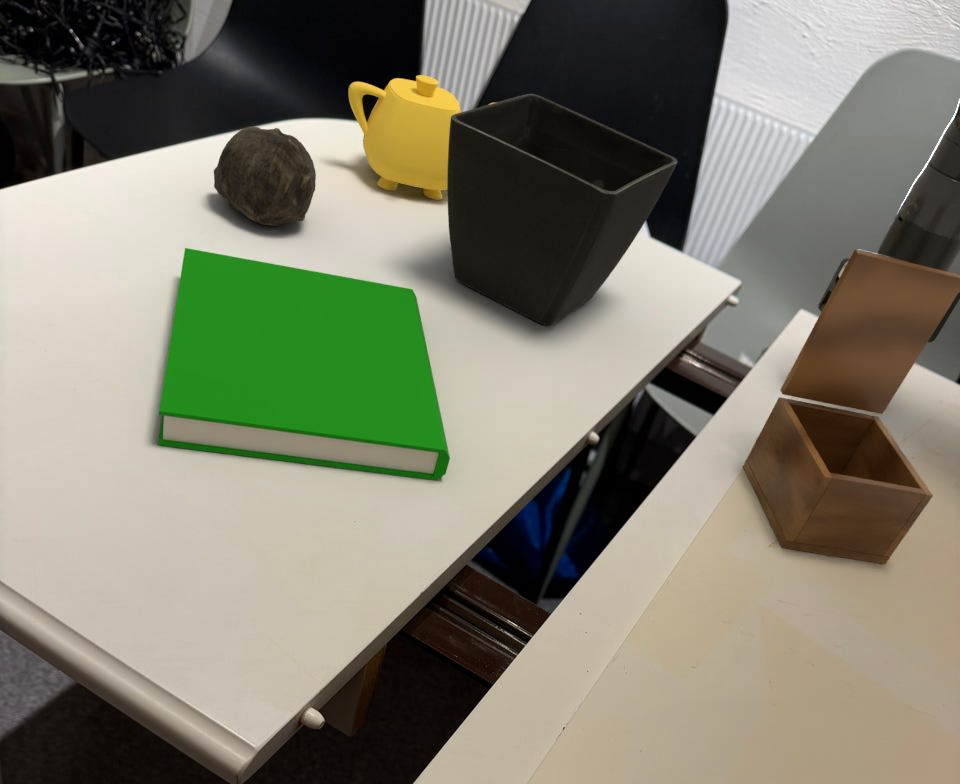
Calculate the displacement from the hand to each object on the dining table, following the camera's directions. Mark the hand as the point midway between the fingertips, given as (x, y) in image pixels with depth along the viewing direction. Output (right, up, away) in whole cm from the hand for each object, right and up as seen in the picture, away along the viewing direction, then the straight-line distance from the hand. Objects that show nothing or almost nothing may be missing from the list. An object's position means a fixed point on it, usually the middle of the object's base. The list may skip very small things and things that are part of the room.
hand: (854, 362), depth 110 cm
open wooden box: (-11, -20, -19) cm, 29 cm away
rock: (-67, +15, -2) cm, 69 cm away
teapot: (-51, +28, +17) cm, 61 cm away
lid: (-8, -5, -25) cm, 26 cm away
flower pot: (-38, +8, +1) cm, 38 cm away
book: (-58, -8, -23) cm, 63 cm away
